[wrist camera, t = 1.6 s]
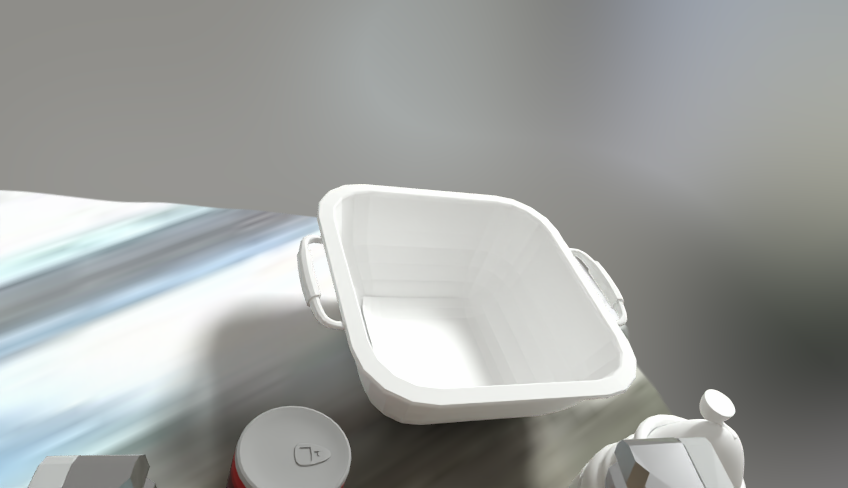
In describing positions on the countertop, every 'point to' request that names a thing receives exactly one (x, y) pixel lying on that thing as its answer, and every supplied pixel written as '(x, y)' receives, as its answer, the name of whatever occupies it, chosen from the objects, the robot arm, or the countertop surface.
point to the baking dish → (465, 305)
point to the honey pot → (722, 437)
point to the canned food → (291, 451)
